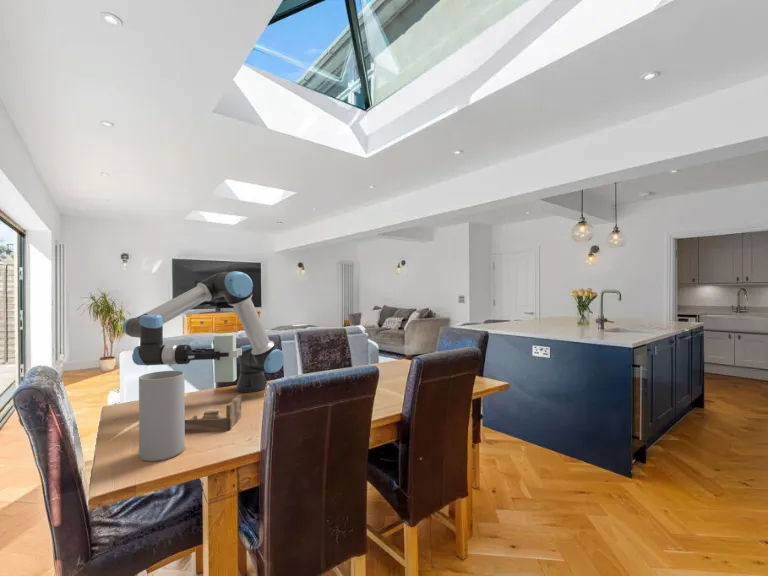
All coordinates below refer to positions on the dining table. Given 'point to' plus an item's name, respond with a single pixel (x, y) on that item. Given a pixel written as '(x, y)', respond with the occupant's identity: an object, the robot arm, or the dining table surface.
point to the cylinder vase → (161, 415)
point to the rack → (217, 424)
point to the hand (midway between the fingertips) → (239, 352)
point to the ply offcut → (213, 417)
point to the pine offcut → (211, 413)
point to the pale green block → (225, 366)
